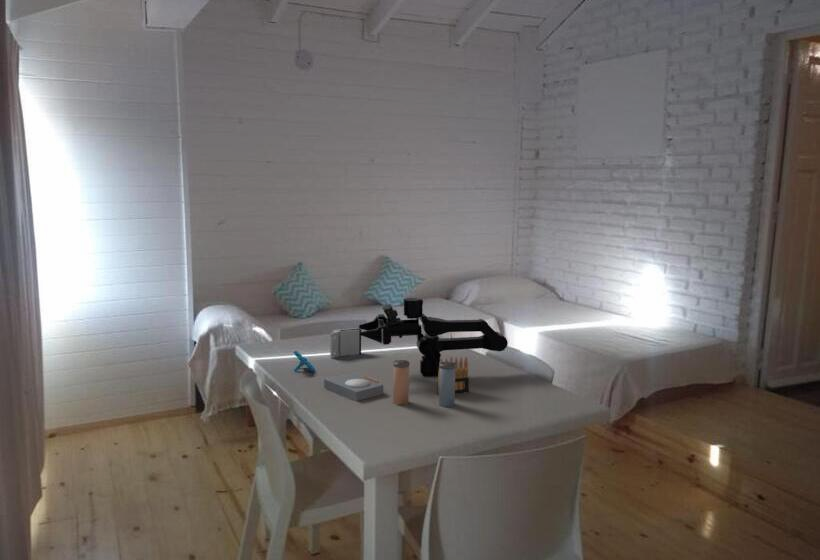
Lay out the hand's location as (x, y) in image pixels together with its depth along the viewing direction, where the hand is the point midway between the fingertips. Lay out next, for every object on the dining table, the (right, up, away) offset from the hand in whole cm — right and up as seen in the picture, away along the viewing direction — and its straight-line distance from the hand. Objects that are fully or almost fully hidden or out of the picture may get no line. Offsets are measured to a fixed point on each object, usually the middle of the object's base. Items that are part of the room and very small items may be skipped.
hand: (359, 330), depth 234 cm
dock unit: (-1, -19, -14) cm, 24 cm away
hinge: (-8, -12, +30) cm, 33 cm away
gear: (-21, -16, +8) cm, 27 cm away
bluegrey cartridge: (+29, -21, -26) cm, 44 cm away
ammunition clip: (+32, -20, -15) cm, 40 cm away
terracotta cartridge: (+15, -21, -25) cm, 36 cm away
